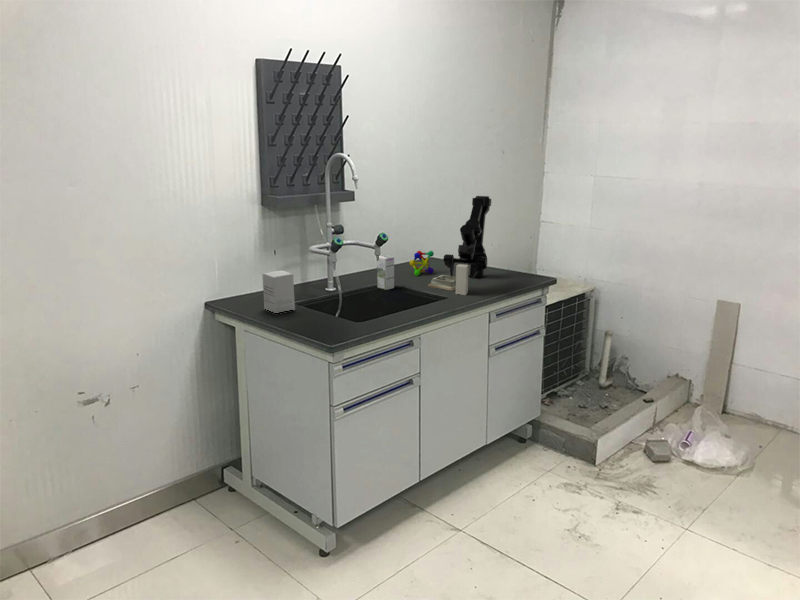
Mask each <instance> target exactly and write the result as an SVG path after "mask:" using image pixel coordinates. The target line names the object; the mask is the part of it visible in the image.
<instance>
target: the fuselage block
mask: <svg viewBox="0 0 800 600" xmlns="http://www.w3.org/2000/svg"><path fill="white" fill-rule="evenodd" d="M469 267H470V265H468V264H464V263H458V264H456V266H455V268H456V269H455V277H456V289H455V290H454V291H455V292H454V293H455V295H457V294H460V295H459V296H467V294H468V293H469V277H468V275H469V274H470V268H469Z"/></svg>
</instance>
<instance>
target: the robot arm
mask: <svg viewBox="0 0 800 600" xmlns="http://www.w3.org/2000/svg"><path fill="white" fill-rule="evenodd" d="M471 204H472V208H471V212H470V217H469V219H468V220H466V222H465V224H463V225H462V226H461V227H460V229H459V230H460V235H461V240H462V244H459V245H458V248H457V249H458V250H457V253H458V254H457V255H458V257H454V254H444V255H443V262H444V265H445V267H447V268H449V273H450V276H451V277H452V276H454V271H455V263H458V264H463V265H469V267H470V268H469V274H468V278H471V280H474V279H476V280H477V279H482V278H486V277H487V276H486V275H485V274H484V273H485V271H484V270H486V269H487V268H488V267H487V266H488V256H487V253H486V250H485V249H486V248H485V247H484V245H483V243H484V235H485V234H484V233H485V224H486V215H487V214H488V213H489V211H490V208H491V206H492V198H490V196H489V195H476V196H475V197H472V201H471Z"/></svg>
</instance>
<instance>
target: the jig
mask: <svg viewBox="0 0 800 600" xmlns="http://www.w3.org/2000/svg"><path fill="white" fill-rule="evenodd" d="M430 281H431V283H429V284H427V286H428V287H429V288H435V289H442V290H446V291H447V290H448V291H455V290H456V276H454V275H453V276H452V277H451V275H448V274H441V275H439V276H436V277H433V278H431V279H430Z"/></svg>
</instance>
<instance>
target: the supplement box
mask: <svg viewBox="0 0 800 600" xmlns="http://www.w3.org/2000/svg"><path fill="white" fill-rule="evenodd" d="M261 274H262V288H263V291H262V292H263V304H264V305H263V306H264V310H265V309H266V310H265V311H267V310H269V311H271V312H274V313H279V312H283V311H289V310H293V311H295V310H296V303H295V287H294V286H295V285H294V273H291V272H288V271H285V270H282V269H281V270H275V271H270V272H264V273H263V272H262V273H261ZM269 311H268V312H269ZM271 312H270V313H271ZM289 312H290V311H289ZM274 313H273V314H274Z"/></svg>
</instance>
